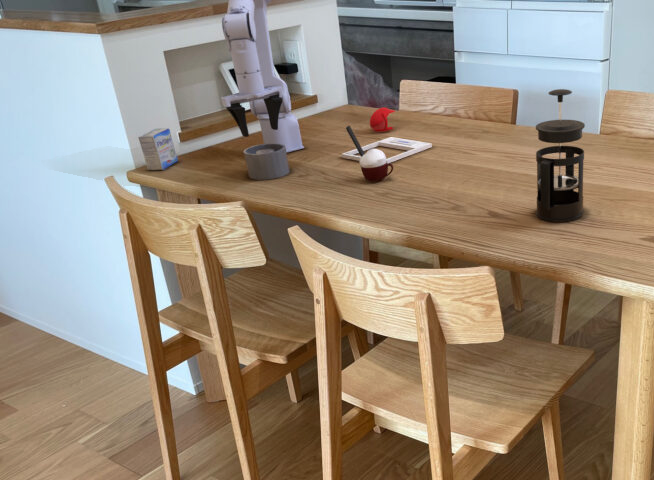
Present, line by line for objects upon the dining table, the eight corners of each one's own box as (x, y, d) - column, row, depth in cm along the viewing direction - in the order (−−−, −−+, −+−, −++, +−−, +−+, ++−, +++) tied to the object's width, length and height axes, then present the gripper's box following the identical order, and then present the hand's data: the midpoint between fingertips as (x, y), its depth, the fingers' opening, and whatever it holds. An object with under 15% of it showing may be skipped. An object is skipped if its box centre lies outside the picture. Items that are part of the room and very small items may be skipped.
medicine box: (163, 170, 193) (153, 136, 188) (147, 170, 193) (137, 136, 189) (178, 161, 199) (169, 127, 194) (163, 161, 200) (154, 128, 195)
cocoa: (398, 178, 174) (392, 125, 168) (379, 186, 170) (372, 131, 164) (370, 172, 179) (363, 120, 173) (350, 179, 175) (342, 127, 169)
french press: (550, 202, 153) (550, 82, 141) (593, 208, 149) (596, 85, 137) (523, 221, 145) (520, 96, 133) (567, 228, 141) (568, 99, 129)
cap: (382, 135, 209) (379, 112, 206) (366, 132, 212) (363, 110, 209) (401, 128, 214) (398, 106, 211) (385, 126, 217) (382, 104, 214)
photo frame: (431, 142, 194) (382, 160, 183) (431, 147, 195) (382, 165, 183) (391, 136, 202) (341, 153, 191) (391, 140, 203) (342, 157, 192)
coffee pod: (267, 168, 186) (263, 148, 184) (281, 169, 185) (277, 149, 182) (256, 173, 183) (251, 153, 180) (270, 174, 181) (266, 154, 179)
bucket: (277, 165, 190) (272, 141, 187) (297, 172, 183) (292, 147, 180) (242, 174, 185) (236, 150, 182) (260, 182, 178) (255, 157, 175)
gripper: (226, 79, 165) (239, 142, 173) (284, 67, 173) (295, 128, 180) (212, 75, 170) (226, 137, 177) (270, 65, 178) (281, 124, 185)
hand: (260, 132), depth 179 cm, fingers open, 7 cm apart
